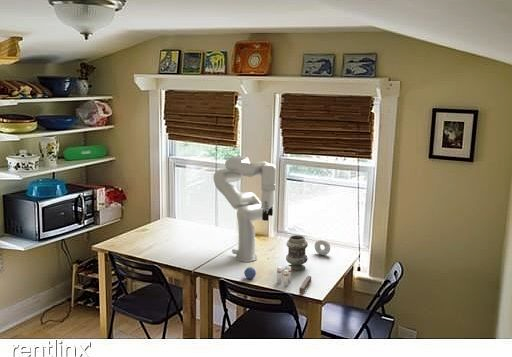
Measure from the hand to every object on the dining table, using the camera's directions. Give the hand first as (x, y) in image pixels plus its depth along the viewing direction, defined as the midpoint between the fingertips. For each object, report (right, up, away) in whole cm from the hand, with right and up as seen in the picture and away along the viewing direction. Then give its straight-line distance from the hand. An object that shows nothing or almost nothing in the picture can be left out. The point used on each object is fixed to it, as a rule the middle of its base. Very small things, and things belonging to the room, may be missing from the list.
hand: (267, 217), depth 267 cm
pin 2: (+11, -33, -11) cm, 36 cm away
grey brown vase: (+16, -29, +8) cm, 34 cm away
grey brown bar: (+19, -34, -17) cm, 42 cm away
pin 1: (+9, -34, -16) cm, 38 cm away
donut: (+33, -25, +28) cm, 50 cm away
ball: (-9, -28, -8) cm, 31 cm away
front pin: (+6, -33, -12) cm, 35 cm away
